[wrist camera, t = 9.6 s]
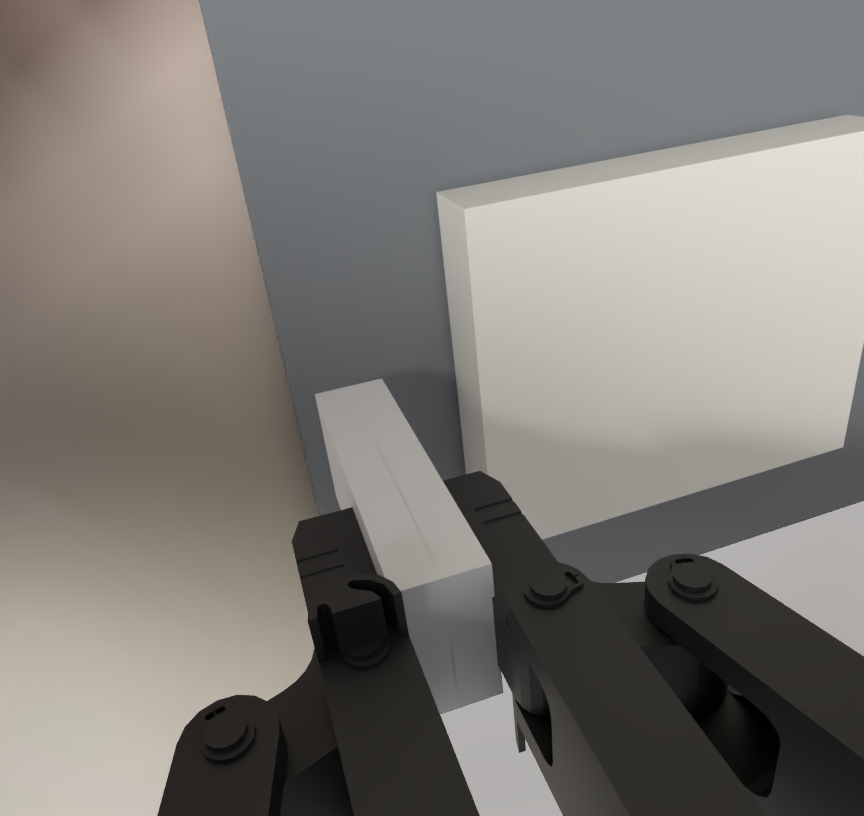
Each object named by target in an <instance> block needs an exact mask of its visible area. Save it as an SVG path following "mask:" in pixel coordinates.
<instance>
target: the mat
mask: <svg viewBox="0 0 864 816" xmlns="http://www.w3.org/2000/svg"><path fill="white" fill-rule="evenodd" d="M199 2H200V7H201V11H202V15H203V19H204V24H205V28H206V32H207V37H208V41H209V45H210V49H211V54H212V58H213V62H214V67H215V71H216V75H217V79H218V84H219V88H220V92H221V96H222V101H223V105H224V109H225V114H226V118H227V122H228V126H229V131H230V135H231V139H232V144H233V148H234V152H235V156H236V161H237V165H238V169H239V174H240V178H241V182H242V186H243V191H244V195H245V199H246V204H247V208H248V212H249V216H250V221H251V225H252V229H253V234H254V238H255V242H256V246H257V251H258V255H259V259H260V264H261V268H262V272H263V276H264V281H265V285H266V289H267V293H268V298H269V302H270V306H271V311H272V315H273V319H274V323H275V328H276V332H277V336H278V341H279V345H280V349H281V353H282V358H283V362H284V366H285V371H286V375H287V379H288V383H289V388H290V392H291V396H292V401H293V405H294V409H295V413H296V418H297V422H298V426H299V431H300V435H301V439H302V443H303V448H304V452H305V456H306V460H307V465H308V469H309V473H310V478H311V482H312V486H313V490H314V495H315V499H316V503H317V508H318V512H319V516H321V515H325V514H329V513H332V512H336V511H340V510H341V509H340V506H339V503H338V500H337V497H336V493H335V488H334V483H333V479H332V474H331V469H330V464H329V460H328V455H327V450H326V445H325V441H324V436H323V431H322V426H321V422H320V417H319V412H318V407H317V403H316V398H315V394H318V393H322V392H326V391H330V390H335V389H339V388H343V387H347V386H352V385H356V384H360V383H364V382H369V381H373V380H377V379H381V378H382V380H383V381H384V383H385V385H386V386H387V388H388V390H389V391H390V393H391V395H392V396H393V398H394V400H395V401H396V403H397V405H398V407H399V408H400V410H401V412H402V413H403V415H404V417H405V418H406V420H407V422H408V423H409V425H410V427H411V428H412V430H413V432H414V433H415V435H416V437H417V439H418V440H419V442H420V444H421V445H422V447H423V449H424V450H425V452H426V454H427V455H428V457H429V459H430V460H431V462H432V464H433V465H434V467H435V469H436V471H437V472H438V474H439V476H440V477H441V479H442V481H443V480H447V479H451V478H455V477H458V476H462V475H466V468H465V459H464V450H463V440H462V431H461V421H460V412H459V402H458V393H457V383H456V374H455V365H454V355H453V346H452V336H451V327H450V317H449V308H448V298H447V289H446V280H445V270H444V261H443V251H442V242H441V232H440V223H439V214H438V204H437V195H436V192H439V191H444V190H450V189H455V188H460V187H465V186H471V185H476V184H481V183H487V182H492V181H497V180H503V179H508V178H513V177H519V176H524V175H529V174H534V173H540V172H545V171H550V170H556V169H561V168H566V167H572V166H577V165H582V164H587V163H593V162H598V161H603V160H609V159H614V158H619V157H625V156H630V155H635V154H641V153H646V152H651V151H656V150H662V149H667V148H672V147H678V146H683V145H688V144H694V143H699V142H704V141H710V140H715V139H720V138H725V137H731V136H736V135H741V134H747V133H752V132H757V131H763V130H768V129H773V128H779V127H784V126H789V125H794V124H800V123H805V122H810V121H816V120H821V119H826V118H832V117H837V116H842V115H853V116H861V117H864V0H199ZM861 501H864V344H863V349H862V354H861V359H860V364H859V369H858V374H857V379H856V384H855V389H854V394H853V400H852V405H851V410H850V415H849V420H848V425H847V430H846V435H845V440H844V445H843V447H842V448H839V449H835V450H832V451H829V452H826V453H822V454H819V455H816V456H813V457H809V458H806V459H803V460H800V461H796V462H793V463H790V464H787V465H783V466H780V467H777V468H774V469H770V470H767V471H764V472H761V473H757V474H754V475H751V476H748V477H744V478H741V479H738V480H735V481H731V482H728V483H725V484H722V485H718V486H715V487H712V488H709V489H705V490H702V491H699V492H695V493H692V494H689V495H686V496H682V497H679V498H676V499H673V500H669V501H666V502H663V503H660V504H656V505H653V506H650V507H647V508H643V509H640V510H637V511H634V512H630V513H627V514H624V515H621V516H617V517H614V518H611V519H608V520H604V521H601V522H598V523H595V524H591V525H588V526H585V527H582V528H578V529H575V530H572V531H568V532H565V533H562V534H559V535H555V536H552V537H549V538H546V539H542V540H543V542H544V543H545V545H546V546H547V547H548V549H549V550H550V552H551V553H552V554H553V556H554V557H555V559H556V560H557V561H558V562H559V563H564V564H567V565H569V566H572V567H574V568H577V569H578V570H579V571H581V572H582V573H583V574H584V575H585V576H586V577H587V578H588V579H589V580H590V581H594V582H599V583H615V582H618V581H621V580H624V579H627V578H630V577H633V576H636V575H639V574H642V573H645V572H648V569H649V567H650V566H651V565H653V564H654V563H655V562H656V561H657V560H658V559H661V558H664V557H666V556H669V555H672V554H694V555H700V554H703V553H706V552H709V551H712V550H715V549H718V548H721V547H725V546H728V545H731V544H734V543H737V542H739V541H743V540H746V539H749V538H752V537H755V536H758V535H761V534H764V533H767V532H770V531H773V530H776V529H779V528H782V527H785V526H788V525H791V524H794V523H797V522H800V521H804V520H807V519H810V518H813V517H816V516H819V515H822V514H825V513H828V512H831V511H834V510H837V509H840V508H843V507H846V506H849V505H852V504H855V503H858V502H861Z"/></svg>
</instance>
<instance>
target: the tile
mask: <svg viewBox="0 0 864 816" xmlns="http://www.w3.org/2000/svg"><path fill="white" fill-rule="evenodd" d="M436 195H437V204H438V214H439V223H440V232H441V242H442V251H443V261H444V270H445V280H446V289H447V298H448V308H449V317H450V327H451V336H452V346H453V355H454V365H455V374H456V383H457V393H458V402H459V412H460V421H461V431H462V440H463V450H464V459H465V468H466V474H469V473H473V472H477V471H482V472H484V473H485V474H487V475H489V476H491V477H492V478H494V479H496V480H498V481H500V482H501V484H502V485H503V486H504V488H505V489H506V490H507V492H508V493H509V495H510V496H511V497H512V500H513V501H514V502H515V503H516V504H517V506H518V507H519V509H520V510H521V512H522V515H523V514H524V515H525V517H526V518H527V520H528V521H529V522H530V524H531V525H532V527H533V528H534V529H535V531H536V532H537V534H538V535H539V536H540V538H541V539H546V538H549V537H552V536H555V535H559V534H562V533H565V532H568V531H572V530H575V529H578V528H582V527H585V526H588V525H591V524H595V523H598V522H601V521H604V520H608V519H611V518H614V517H617V516H621V515H624V514H627V513H630V512H634V511H637V510H640V509H643V508H647V507H650V506H653V505H656V504H660V503H663V502H666V501H669V500H673V499H676V498H679V497H682V496H686V495H689V494H692V493H695V492H699V491H702V490H705V489H709V488H712V487H715V486H718V485H722V484H725V483H728V482H731V481H735V480H738V479H741V478H744V477H748V476H751V475H754V474H757V473H761V472H764V471H767V470H770V469H774V468H777V467H780V466H783V465H787V464H790V463H793V462H796V461H800V460H803V459H806V458H809V457H813V456H816V455H819V454H822V453H826V452H829V451H832V450H835V449H839V448H842V447H843V445H844V440H845V435H846V430H847V425H848V420H849V415H850V410H851V405H852V400H853V394H854V389H855V384H856V379H857V374H858V369H859V364H860V359H861V354H862V349H863V344H864V117H861V116H853V115H842V116H837V117H832V118H826V119H821V120H816V121H810V122H805V123H800V124H794V125H789V126H784V127H779V128H773V129H768V130H763V131H757V132H752V133H747V134H741V135H736V136H731V137H725V138H720V139H715V140H710V141H704V142H699V143H694V144H688V145H683V146H678V147H672V148H667V149H662V150H656V151H651V152H646V153H641V154H635V155H630V156H625V157H619V158H614V159H609V160H603V161H598V162H593V163H587V164H582V165H577V166H572V167H566V168H561V169H556V170H550V171H545V172H540V173H534V174H529V175H524V176H519V177H513V178H508V179H503V180H497V181H492V182H487V183H481V184H476V185H471V186H465V187H460V188H455V189H450V190H444V191H439V192H436Z"/></svg>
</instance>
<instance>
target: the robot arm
mask: <svg viewBox="0 0 864 816" xmlns="http://www.w3.org/2000/svg"><path fill="white" fill-rule="evenodd" d="M315 398H316V403H317V407H318V412H319V417H320V422H321V426H322V431H323V436H324V441H325V445H326V450H327V455H328V460H329V464H330V469H331V474H332V479H333V483H334V488H335V493H336V497H337V500H338V503H339V506H340V509H341V510H340V511H336V512H332V513H329V514H325V515H321V516H318V517H314V518H310V519H307V520H303V521H299V524H298V526H297V529H296V532H295V534H294V537H293V540H292V544H293V549H294V553H295V557H296V562H297V566H298V570H299V575H300V579H301V584H302V588H303V592H304V597H305V601H306V605H307V610H308V624H309V627H310V631H311V635H312V639H313V643H314V647H315V649H314V653H313V657H312V660H311V662H310V664H309V665H308V667H307V669H306V671H305V672H304V673H303V674H302V675H301V676H300V678H299V679H298V680H297V681H296V682H295V683H293V684H292V685H291V686H289V687H288V688H287V689H285V690H284V691H283V692H281V693H279V694H278V695H276V696H275V697H273V698H272V699H270V700H268V701H265V700H263V699H261V698H259V697H256V696H251V695H235V696H231V697H228V698H224V699H221V700H217V701H216V702H214V703H213V704H211V705H209V706H208V707H206V708H204V709H203V710H201V711H199V713H198V714H197V715H196V716H195V717H194V718H193V719H192V720H191V721H190V722H189V723H188V724H187V725H186V726H185V728H184V730H183V732H182V734H181V737H180V739H179V741H178V743H177V745H176V749H175V753H174V756H173V760H172V764H171V768H170V771H169V775H168V779H167V782H166V786H165V790H164V794H163V797H162V801H161V805H160V808H159V812H158V816H479V813H478V811H477V808H476V806H475V803H474V800H473V798H472V795H471V793H470V791H469V788H468V785H467V782H466V780H465V777H464V775H463V772H462V770H461V767H460V765H459V762H458V759H457V757H456V754H455V752H454V749H453V747H452V744H451V742H450V739H449V736H448V734H447V731H446V729H445V726H444V724H443V721H442V719H441V716H440V714H443V713H446V712H448V711H451V710H454V709H457V708H460V707H463V706H466V705H469V704H472V703H475V702H478V701H481V700H484V699H486V698H489V697H492V696H495V695H498V694H501V693H503V687H502V676H501V671H502V673H503V675H504V677H505V679H506V681H507V683H508V685H509V687H510V689H511V691H512V694H513V707H514V719H515V732H516V741H517V746H518V749H519V753H520V752H523V751H525V750H526V748H525V739H526V741H527V743H528V745H529V747H530V749H531V751H532V753H533V755H534V757H535V759H536V761H537V763H538V765H539V767H540V769H541V771H542V773H543V775H544V777H545V780H546V782H547V784H548V786H549V788H550V790H551V792H552V794H553V796H554V798H555V800H556V802H557V804H558V806H559V808H560V810H561V812H562V814H563V816H864V656H862V655H861V654H859V653H857V652H856V651H854V650H853V649H851V648H850V647H848V646H847V645H845V644H844V643H842V642H841V641H839V640H838V639H836V638H835V637H833V636H831V635H830V634H828V633H827V632H825V631H824V630H822V629H821V628H819V627H818V626H816V625H815V624H813V623H811V622H810V621H808V620H807V619H805V618H804V617H802V616H801V615H799V614H798V613H796V612H795V611H793V610H791V609H790V608H789V607H787V606H785V605H784V604H782V603H781V602H779V601H778V600H776V599H775V598H773V597H772V596H770V595H769V594H767V593H766V592H764V591H763V590H761V589H759V588H758V587H757V586H755V585H753V584H752V583H750V582H749V581H747V580H746V579H744V578H742V577H741V576H740V575H738V574H737V573H735V572H734V571H732V570H730V569H729V568H727V567H726V566H724V565H723V564H721V563H718V562H716V561H714V560H712V559H710V558H708V557H704V556H699V555H694V554H672V555H669V556H666V557H664V558H661V559H658V560H657V561H656V562H655V563H654V564H653V565H651V566H650V567H649V569H648V572H647V575H646V579H645V582H631V583H630V582H629V583H599V582H594V581H590V580H589V579H588V578H587V577H586V576H585V575H584V574H583V573H582V572H581V571H579V570H578V569H577V568H574V567H572V566H569V565H567V564H564V563H559V562H558V561H557V560H556V559H555V557H554V556H553V554H552V553H551V552H550V550H549V549H548V547H547V546H546V545H545V543H544V542H543V540H542V539H541V538H540V536H539V535H538V534H537V532H536V531H535V529H534V528H533V527H532V525H531V524H530V522H529V521H528V520H527V518H526V517H525V515H524V514H523V515H522V512H521V510H520V509H519V507H518V506H517V504H516V503H515V502H514V501H513V500H512V497H511V496H510V495H509V493H508V492H507V490H506V489H505V488H504V486H503V485H502V484H501V482H500V481H498V480H496V479H494V478H492V477H491V476H489V475H487V474H485V473H484V472H482V471H477V472H473V473H469V474H466V475H462V476H458V477H455V478H451V479H447V480H443V481H442V479H441V477H440V476H439V474H438V472H437V471H436V469H435V467H434V465H433V464H432V462H431V460H430V459H429V457H428V455H427V454H426V452H425V450H424V449H423V447H422V445H421V444H420V442H419V440H418V439H417V437H416V435H415V433H414V432H413V430H412V428H411V427H410V425H409V423H408V422H407V420H406V418H405V417H404V415H403V413H402V412H401V410H400V408H399V407H398V405H397V403H396V401H395V400H394V398H393V396H392V395H391V393H390V391H389V390H388V388H387V386H386V385H385V383H384V381H383V380H382V378H381V379H377V380H373V381H369V382H364V383H360V384H356V385H352V386H347V387H343V388H339V389H335V390H330V391H326V392H322V393H318V394H315Z"/></svg>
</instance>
